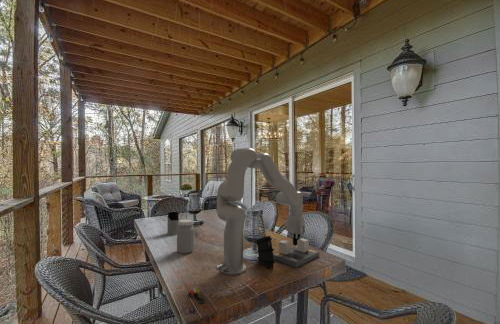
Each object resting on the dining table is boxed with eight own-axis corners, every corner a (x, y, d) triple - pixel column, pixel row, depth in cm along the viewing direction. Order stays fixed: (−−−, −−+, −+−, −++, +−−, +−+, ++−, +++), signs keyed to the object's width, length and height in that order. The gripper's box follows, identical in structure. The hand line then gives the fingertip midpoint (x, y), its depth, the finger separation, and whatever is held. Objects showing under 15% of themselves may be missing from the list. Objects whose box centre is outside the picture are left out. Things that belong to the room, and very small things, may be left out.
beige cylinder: (304, 252, 137) (304, 241, 137) (297, 250, 140) (297, 239, 140) (308, 250, 140) (308, 240, 140) (301, 248, 143) (301, 238, 143)
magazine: (271, 268, 119) (264, 236, 124) (259, 270, 129) (253, 241, 135) (277, 267, 120) (271, 235, 126) (265, 269, 131) (260, 240, 137)
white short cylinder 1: (285, 254, 133) (285, 243, 133) (278, 252, 136) (279, 241, 136) (290, 252, 136) (290, 241, 136) (284, 250, 140) (284, 239, 140)
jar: (189, 255, 140) (190, 223, 140) (173, 253, 141) (174, 222, 142) (196, 249, 149) (197, 219, 149) (181, 248, 151) (182, 218, 151)
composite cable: (206, 303, 92) (206, 297, 92) (193, 307, 90) (193, 300, 90) (198, 291, 101) (198, 285, 101) (186, 294, 98) (186, 288, 98)
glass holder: (166, 232, 184) (166, 212, 184) (185, 230, 190) (185, 210, 190) (167, 235, 176) (167, 214, 176) (187, 233, 182) (188, 213, 182)
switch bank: (296, 267, 124) (296, 262, 124) (273, 259, 134) (273, 254, 134) (319, 256, 139) (319, 251, 139) (296, 249, 150) (296, 245, 150)
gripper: (281, 211, 146) (281, 243, 146) (303, 215, 135) (303, 249, 135) (289, 210, 151) (289, 240, 151) (310, 213, 141) (310, 246, 141)
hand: (295, 244), depth 143 cm, fingers closed
